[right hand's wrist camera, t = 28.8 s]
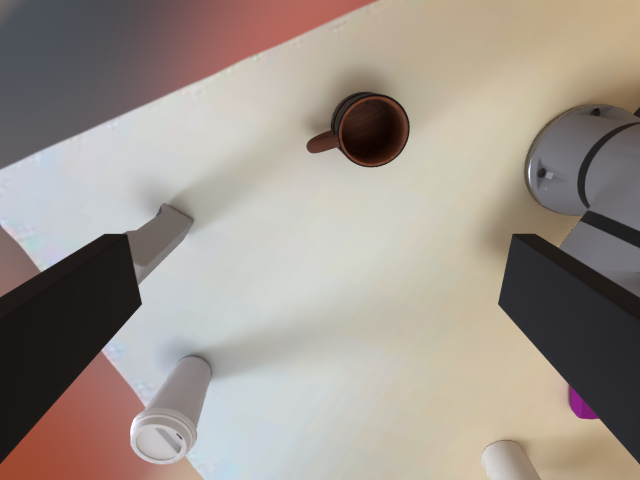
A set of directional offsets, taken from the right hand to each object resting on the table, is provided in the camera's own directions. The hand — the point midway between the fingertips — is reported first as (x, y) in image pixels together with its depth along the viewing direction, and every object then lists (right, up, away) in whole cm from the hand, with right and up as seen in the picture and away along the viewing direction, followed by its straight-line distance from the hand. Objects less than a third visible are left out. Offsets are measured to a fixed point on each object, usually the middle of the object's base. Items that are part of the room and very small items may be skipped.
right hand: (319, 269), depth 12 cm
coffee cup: (-23, -23, +52) cm, 62 cm away
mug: (+4, +17, +37) cm, 41 cm away
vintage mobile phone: (-22, +4, +42) cm, 48 cm away
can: (+37, -43, +60) cm, 83 cm away
